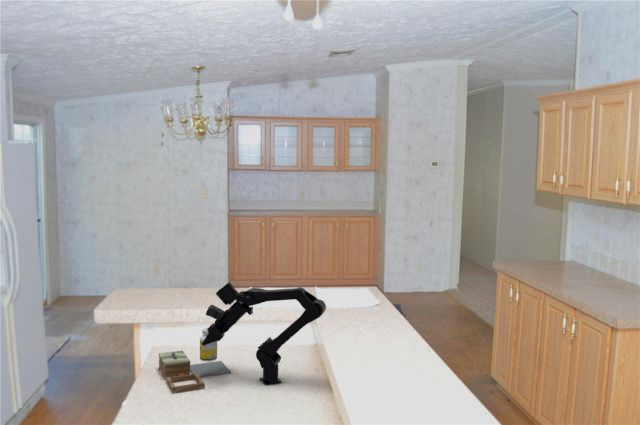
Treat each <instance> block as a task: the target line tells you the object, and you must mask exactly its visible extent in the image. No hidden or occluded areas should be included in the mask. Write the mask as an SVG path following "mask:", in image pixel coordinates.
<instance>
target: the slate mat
mask: <svg viewBox="0 0 640 425" xmlns="http://www.w3.org/2000/svg"><path fill="white" fill-rule="evenodd" d="M194 373H197V374H198V375H199V376H200V378H201V379H202V378H207V377H214V376H222V375H229V374H232V371H231V370H230V369H229V368H228V366H226V364H225V363H224V362H223V361H222V360H217V361H210V362H203V363H196V364H190V374H194Z"/></svg>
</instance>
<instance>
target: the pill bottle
mask: <svg viewBox="0 0 640 425" xmlns="http://www.w3.org/2000/svg"><path fill="white" fill-rule="evenodd" d="M208 328H209V327H205V328H203V329H202V332H201V333H202V335H201V336H200V337H199V360H200V361H201V362H203V363H209V362H215V361H216V360H217V359H218V341H215V342H212V343H210V344H207V345H204V346H203V345H202V342H203V341H204V339H205V338H206V336H207V335H208V330H207V329H208Z"/></svg>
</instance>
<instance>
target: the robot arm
mask: <svg viewBox="0 0 640 425" xmlns="http://www.w3.org/2000/svg"><path fill="white" fill-rule="evenodd" d="M215 295H216V297H217V298H219V300H221V302H222V303H223V304H224V305H226V306H227V305H229V306H230V307H229V308H228V309H225V310H223V309H221V308H219V307H218V306H215V305H213V304H210V305H209V306H208V307H207V310H206V311H205V315H206V316H207V317H210V318H213V319H214V322H213V323H212V324H210V326H208V327H207V328H208V329H207V330H208V335H207V336H206V338H205V339H204V341H203V342H202V345H203V346H204V345H207V344H210V343H212V342H215V341H217V342H220V341H221V340H222V339H223V338H224V336H225V333H227V332H228V331H229V330H230V329H231V328H232V327H233V326H235V324H237V322H238V321H239V320H240V319H241V318H243V316H245V315H246V314H247V315H249V316H251V315H253V314H254V307H253V306H256V305H259V304H260V305H261V304H262V303H265V302H275V301H276V302H277V301H289V300H290V301H292V300H296V301H297V302H298V304H300V305H301V307H302V308H303V309H304V311H303V312H302V314H301V315H300V316H299V317H298V318H297V319H296V320H295V321H294V322H292V323H291V324H290V325H289V326H288V327H286V328H284V330H283V331H282V332H280V334H278V335H277V336H276V337H275V338H272V337H271V336H269V337H268V338H267V339H266V340H265V341H264V342H262V343H261V344H260V345H259V346H258V347H257V351H255V358H256V359H257V361H258V362H259V364H260V368H261V369H262V377H259V380H260V381H261V383H262V384H264V385H266V386H267V385H268V386H269V385H274V384H280V383H282V380H281V379H280V377H279V363H280V362H281V359H282V356H281V355H280V353H279V352H278V351H279V350H280V348H281V347H282V346H283V345H285V343H287V342H288V341H289V340H290V339H292V337H294V336H295V335H296V334H297V333H299V331H301V329H303V328H304V327H305V326H306V325H308V324H310V323H312V322H314V321H316V320H317V319H319V318H320V317H321V316H322V315H323V314H324V313H325V312H326V311H327V309H326V308H327V306H326V302H325V301H324V300H322V299H319V298H317V297H316V296H315V295H314V294H312V293H310V292H308V291H307V290H306V289H305V288H304V287H301V286H299V287H298V286H297V287H296V288H295V287H293V288H292V287H291V288H281V289H280V288H279V289H265V288H260V287H251V288H249V289H248V290H242V291H240V292H238V290H237V289H236V288H235V286H233V284H232V283H231V282H229V281H228V282H227V283H226V284H225V285H224V286H222V287H221V288H219V290H217V291H216V293H215Z"/></svg>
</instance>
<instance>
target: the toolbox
mask: <svg viewBox="0 0 640 425" xmlns="http://www.w3.org/2000/svg"><path fill="white" fill-rule="evenodd" d="M190 365H191V359H190V358H189V357H188V356H187V355H186V353H185V352H184V351H183V350H176V351H168V352H158V369H159V371H160V373H161V375H162V376H163V379H164V380H165V382H166V383H165V384H166V385H167V387H168V389H169V390H170V392H171V394H179V393H185V392H193V391H200V390H205V388H206V387H205V386H206V383H205V382H204V380H203V379H202V377H201V378H200V376H199V375H198V374H197V373H194V374H192V373H191V372H190ZM189 381H195V383H189V384H183V385H175V384H176V383H182V382H189ZM174 383H175V384H174Z"/></svg>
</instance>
